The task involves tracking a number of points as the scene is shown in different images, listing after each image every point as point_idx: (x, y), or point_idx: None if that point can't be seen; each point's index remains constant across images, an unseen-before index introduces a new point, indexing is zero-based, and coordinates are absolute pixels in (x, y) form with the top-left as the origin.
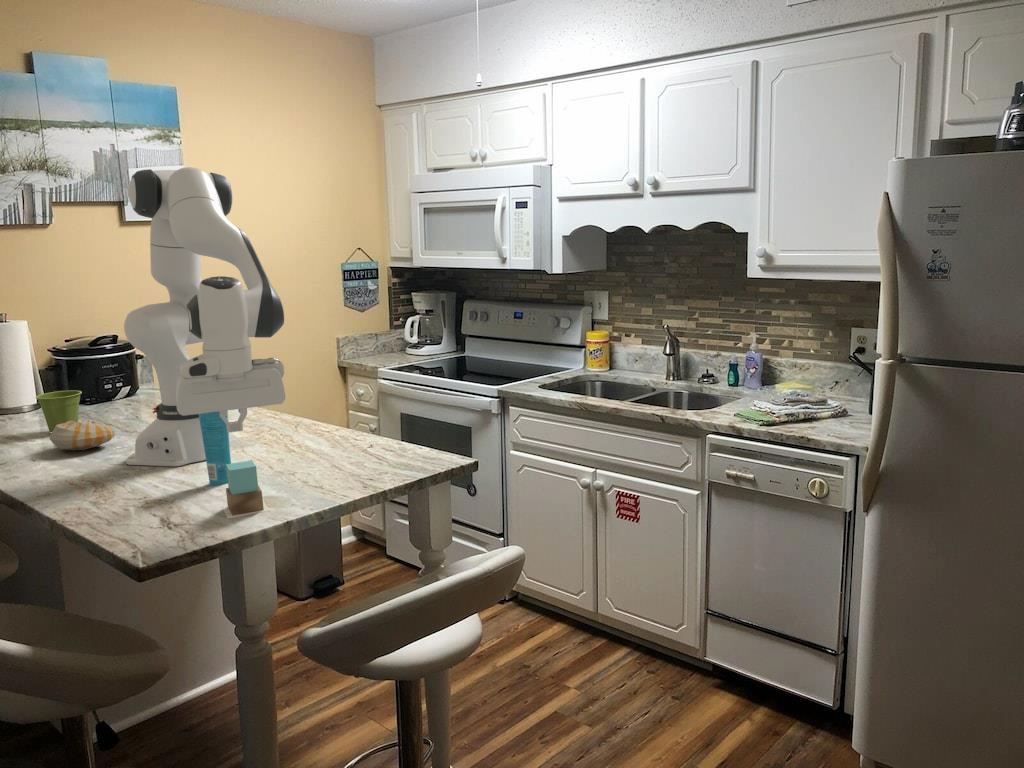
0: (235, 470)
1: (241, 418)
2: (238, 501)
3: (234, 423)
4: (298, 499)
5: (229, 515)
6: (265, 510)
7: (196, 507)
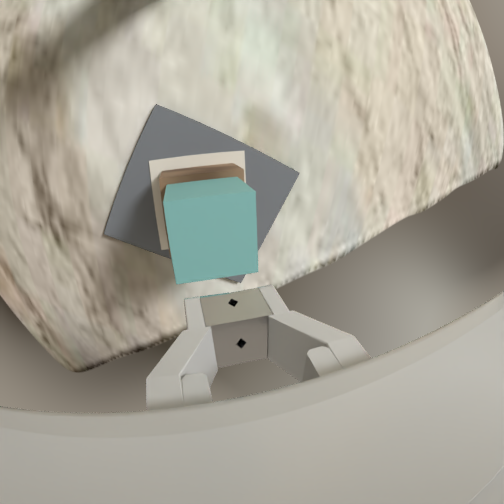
0: (194, 280)
1: (292, 374)
2: None
3: (241, 362)
4: (313, 172)
5: (164, 233)
6: None
7: (94, 118)
